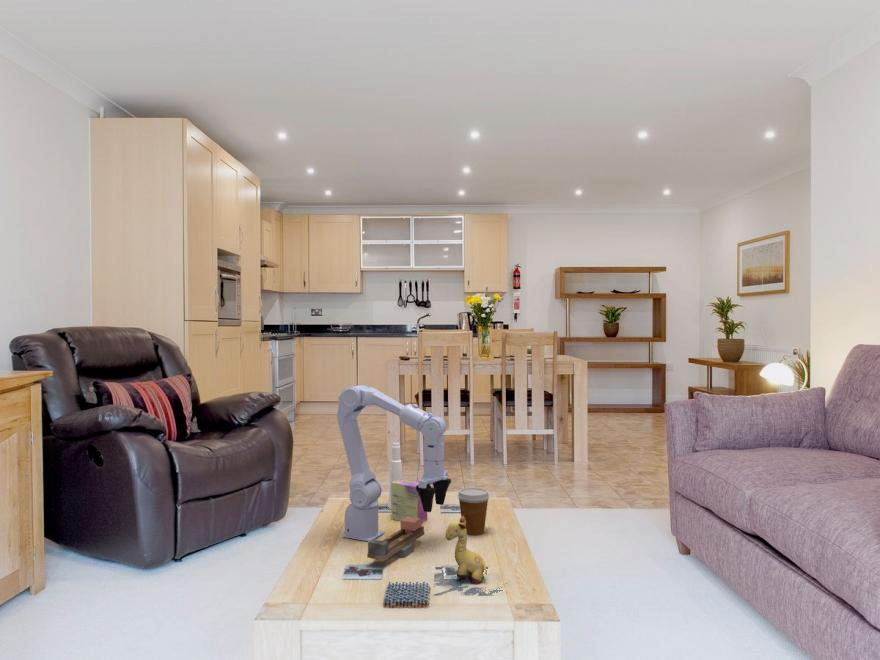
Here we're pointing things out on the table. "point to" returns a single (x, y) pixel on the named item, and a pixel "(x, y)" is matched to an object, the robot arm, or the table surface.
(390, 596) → the spiky bristle mat
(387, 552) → the beam
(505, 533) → the table surface
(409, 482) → the box
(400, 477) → the cosmetic bottle
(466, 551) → the stuffed giraffe
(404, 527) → the block
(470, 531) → the disposable coffee cup
